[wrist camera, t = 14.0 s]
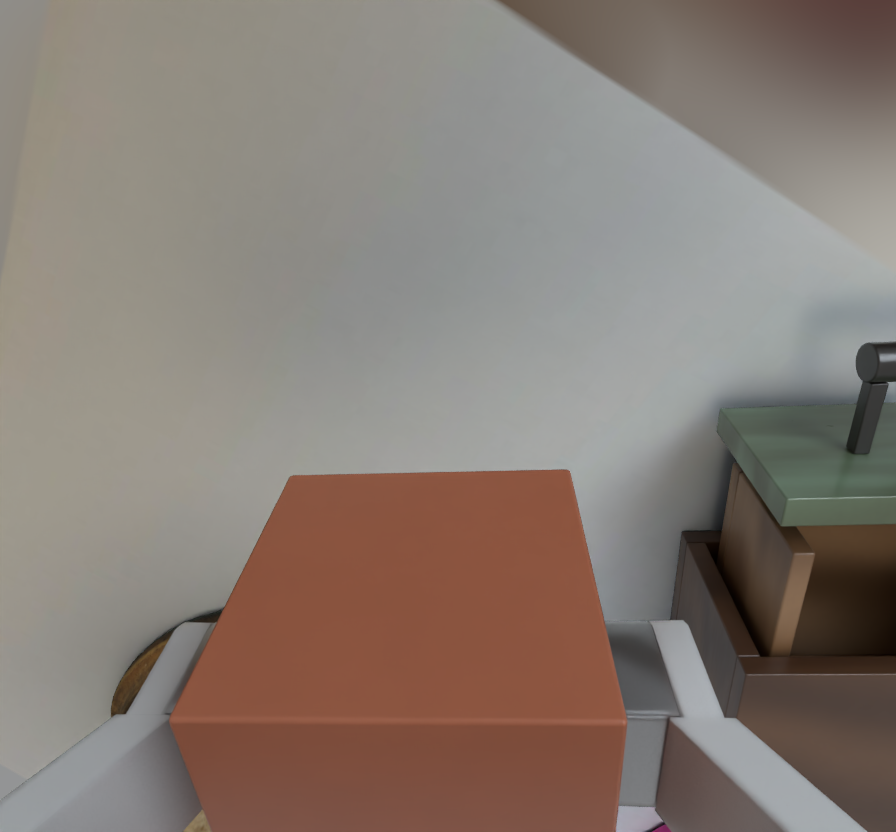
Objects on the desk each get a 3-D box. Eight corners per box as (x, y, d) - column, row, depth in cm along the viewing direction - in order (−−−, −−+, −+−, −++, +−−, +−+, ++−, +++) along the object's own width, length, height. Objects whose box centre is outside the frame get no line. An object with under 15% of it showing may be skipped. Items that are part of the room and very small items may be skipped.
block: (289, 473, 10) (165, 720, 6) (570, 467, 10) (629, 723, 6) (328, 670, 12) (254, 950, 8) (562, 669, 12) (602, 960, 8)
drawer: (733, 313, 25) (812, 383, 19) (1066, 298, 25) (1259, 367, 18) (683, 647, 34) (727, 770, 28) (928, 646, 33) (1029, 772, 27)
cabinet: (681, 531, 32) (745, 674, 24) (971, 525, 31) (1137, 674, 23) (654, 735, 39) (697, 897, 31) (888, 737, 38) (993, 904, 30)
